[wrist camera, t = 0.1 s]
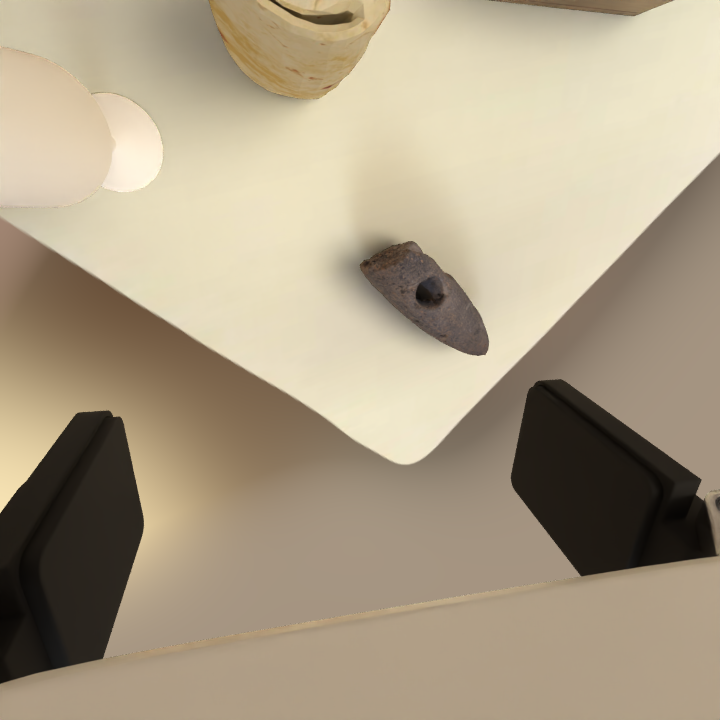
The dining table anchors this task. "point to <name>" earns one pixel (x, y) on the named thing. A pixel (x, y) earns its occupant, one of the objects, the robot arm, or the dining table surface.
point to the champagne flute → (67, 137)
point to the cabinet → (598, 5)
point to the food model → (298, 40)
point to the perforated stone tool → (427, 297)
